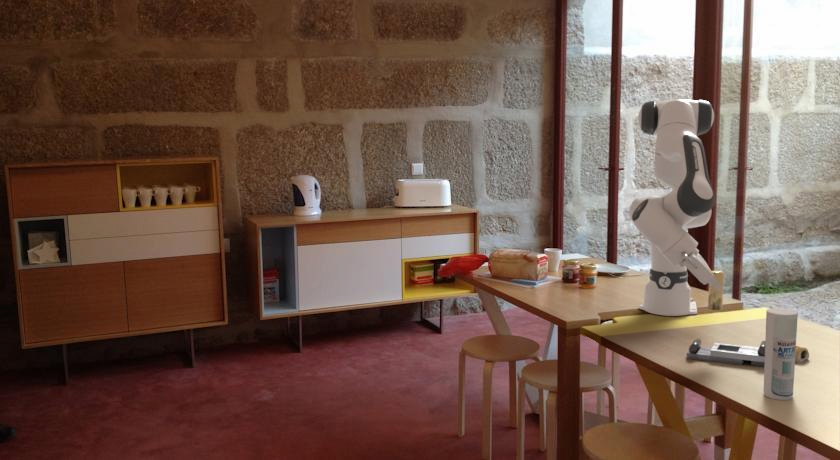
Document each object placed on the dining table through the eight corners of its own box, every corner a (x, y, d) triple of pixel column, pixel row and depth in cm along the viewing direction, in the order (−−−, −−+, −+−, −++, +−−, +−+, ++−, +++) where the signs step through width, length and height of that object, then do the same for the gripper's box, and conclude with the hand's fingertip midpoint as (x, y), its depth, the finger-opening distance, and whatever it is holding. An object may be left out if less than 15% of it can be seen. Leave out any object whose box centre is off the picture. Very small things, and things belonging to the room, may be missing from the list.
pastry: (764, 356, 212) (765, 342, 211) (778, 351, 216) (778, 338, 215) (798, 364, 204) (799, 350, 204) (811, 359, 208) (812, 345, 208)
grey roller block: (686, 358, 211) (687, 340, 210) (691, 350, 218) (692, 332, 217) (767, 368, 201) (768, 349, 200) (770, 359, 208) (771, 341, 207)
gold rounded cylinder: (709, 306, 213) (710, 270, 212) (723, 307, 211) (724, 271, 210) (707, 309, 210) (708, 272, 209) (721, 310, 208) (722, 273, 207)
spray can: (782, 389, 185) (786, 307, 183) (799, 399, 179) (804, 313, 176) (757, 391, 184) (760, 308, 182) (773, 401, 178) (777, 315, 175)
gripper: (693, 247, 200) (733, 286, 199) (687, 236, 220) (723, 272, 218) (675, 264, 202) (714, 303, 200) (670, 252, 221) (705, 287, 220)
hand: (718, 286), depth 210 cm, fingers closed on gold rounded cylinder, 4 cm apart
